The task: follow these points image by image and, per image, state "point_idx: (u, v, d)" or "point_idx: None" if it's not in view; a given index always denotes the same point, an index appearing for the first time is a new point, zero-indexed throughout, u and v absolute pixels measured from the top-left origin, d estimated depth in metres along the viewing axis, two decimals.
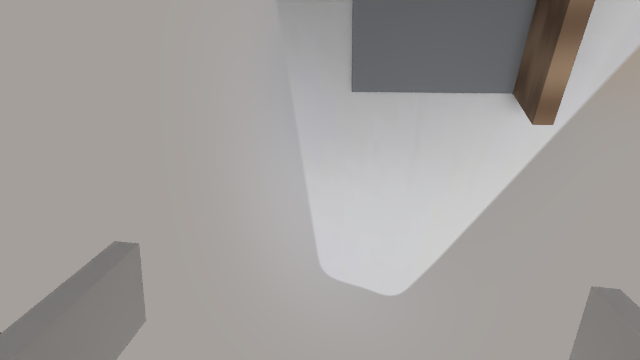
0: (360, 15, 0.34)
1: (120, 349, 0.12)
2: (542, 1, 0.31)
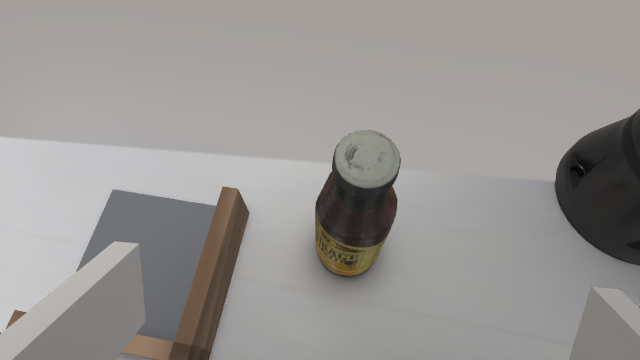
0: (168, 203, 0.45)
1: (120, 349, 0.12)
2: None
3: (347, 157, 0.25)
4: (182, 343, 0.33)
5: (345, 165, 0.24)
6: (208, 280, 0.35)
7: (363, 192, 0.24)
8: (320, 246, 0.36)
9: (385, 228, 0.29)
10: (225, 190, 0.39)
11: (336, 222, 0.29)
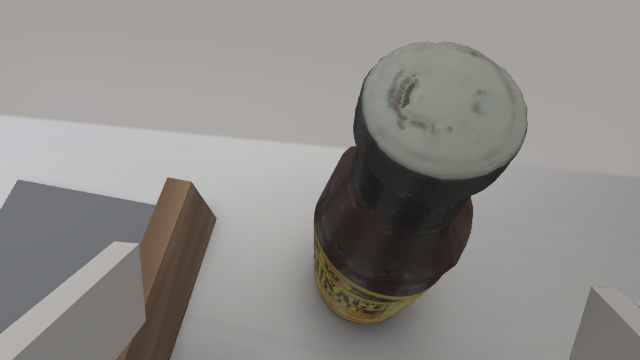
0: (96, 202, 0.30)
1: (120, 349, 0.12)
2: None
3: (394, 101, 0.10)
4: None
5: (389, 120, 0.10)
6: None
7: (434, 191, 0.10)
8: (321, 281, 0.21)
9: (453, 264, 0.15)
10: (171, 183, 0.24)
11: (355, 250, 0.14)
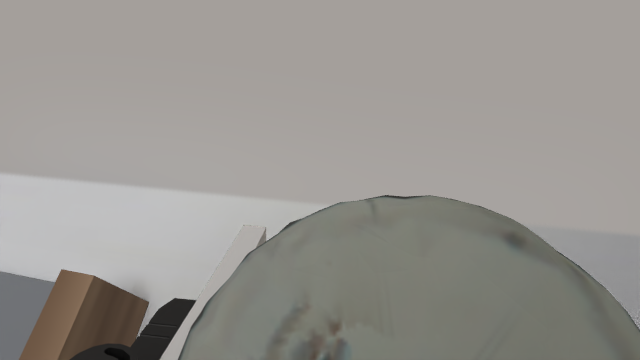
0: None
1: None
2: None
3: None
4: None
5: None
6: None
7: None
8: None
9: None
10: (65, 279, 0.17)
11: None
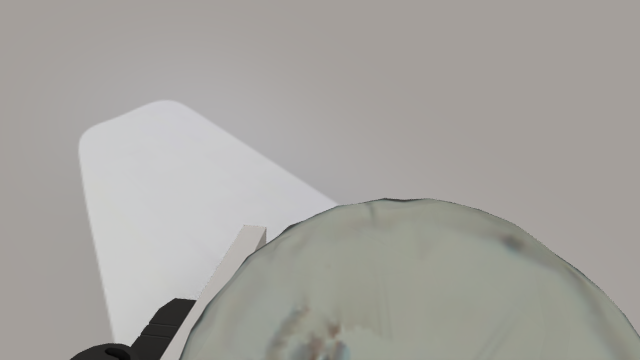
0: None
1: None
2: None
3: None
4: None
5: None
6: None
7: None
8: None
9: None
10: None
11: None
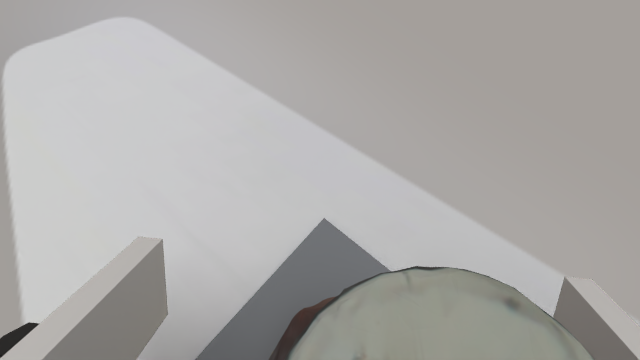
0: None
1: (145, 341, 0.12)
2: None
3: None
4: None
5: None
6: None
7: None
8: None
9: None
10: None
11: None
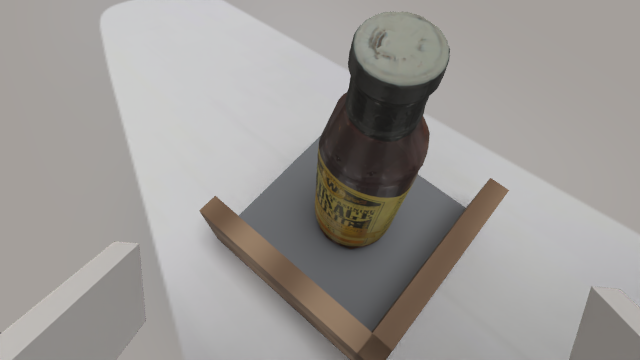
0: None
1: (120, 349, 0.12)
2: None
3: (372, 44, 0.17)
4: (382, 341, 0.25)
5: (370, 54, 0.16)
6: (438, 282, 0.27)
7: (395, 95, 0.16)
8: (322, 204, 0.28)
9: (415, 168, 0.22)
10: (492, 184, 0.30)
11: (348, 158, 0.21)
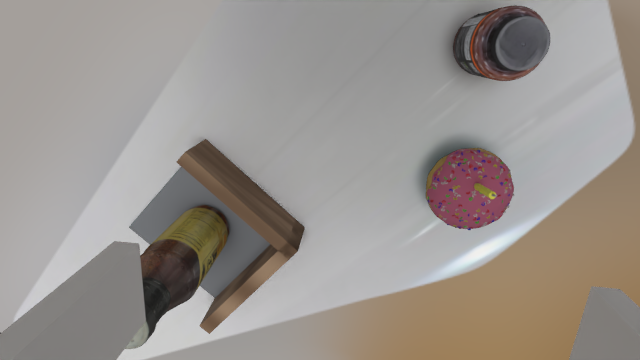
0: (163, 195, 0.50)
1: (120, 349, 0.12)
2: (251, 265, 0.50)
3: None
4: (282, 246, 0.44)
5: (131, 343, 0.32)
6: (249, 210, 0.43)
7: (152, 327, 0.32)
8: None
9: (182, 267, 0.37)
10: (181, 162, 0.42)
11: (179, 302, 0.38)
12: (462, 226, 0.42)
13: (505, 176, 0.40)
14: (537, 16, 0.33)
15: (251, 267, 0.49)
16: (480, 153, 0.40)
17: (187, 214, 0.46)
